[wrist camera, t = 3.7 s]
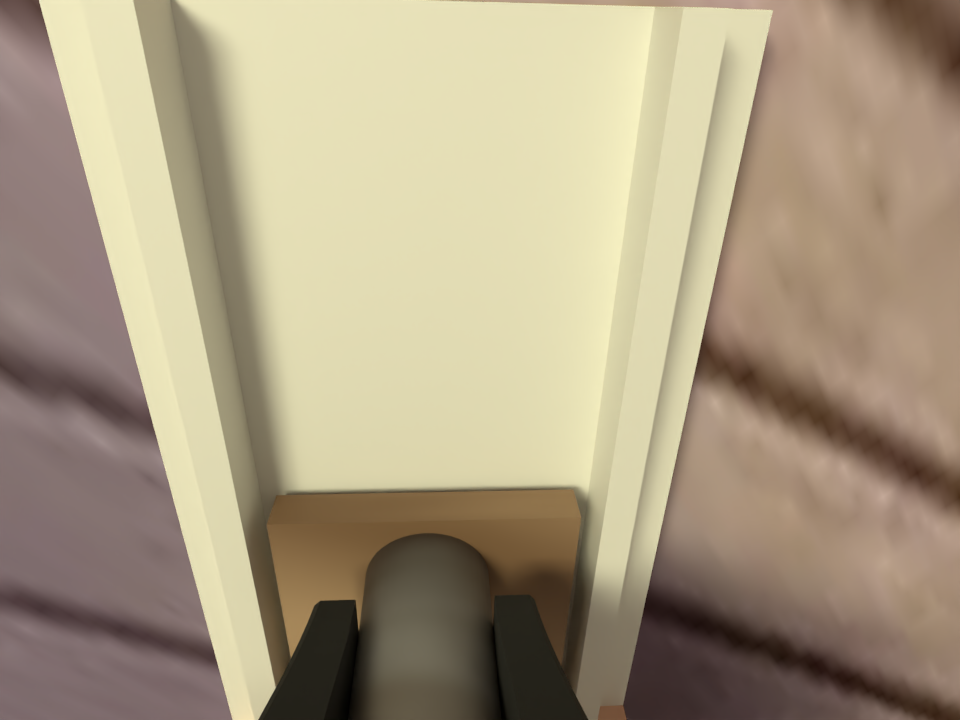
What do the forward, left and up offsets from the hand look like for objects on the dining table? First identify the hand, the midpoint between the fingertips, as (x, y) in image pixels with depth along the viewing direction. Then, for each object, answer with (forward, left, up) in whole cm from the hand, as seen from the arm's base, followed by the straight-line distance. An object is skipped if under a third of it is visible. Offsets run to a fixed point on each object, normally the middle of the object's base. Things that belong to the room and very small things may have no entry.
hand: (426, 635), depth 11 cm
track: (-6, 0, -3) cm, 7 cm away
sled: (-7, 0, -2) cm, 7 cm away
